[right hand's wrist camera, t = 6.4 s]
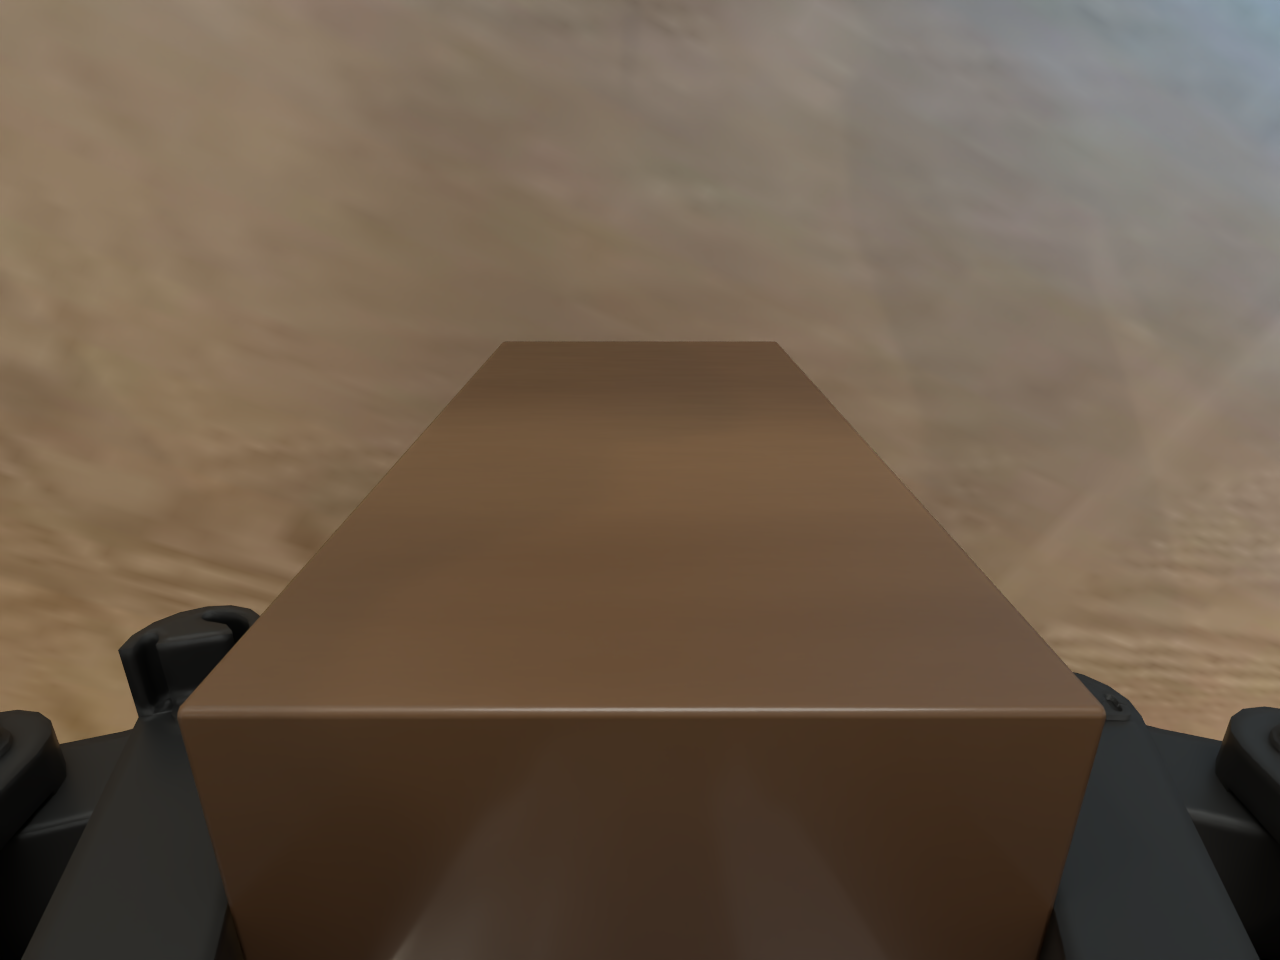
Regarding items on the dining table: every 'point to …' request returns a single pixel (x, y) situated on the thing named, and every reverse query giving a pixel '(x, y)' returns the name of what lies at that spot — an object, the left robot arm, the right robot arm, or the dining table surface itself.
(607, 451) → the box
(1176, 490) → the dining table surface
